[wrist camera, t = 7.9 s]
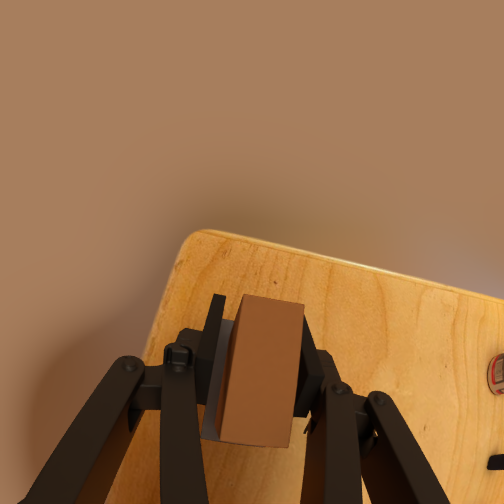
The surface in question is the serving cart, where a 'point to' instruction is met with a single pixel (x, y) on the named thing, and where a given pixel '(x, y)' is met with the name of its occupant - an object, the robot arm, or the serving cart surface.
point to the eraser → (496, 462)
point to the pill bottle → (496, 375)
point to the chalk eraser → (255, 374)
